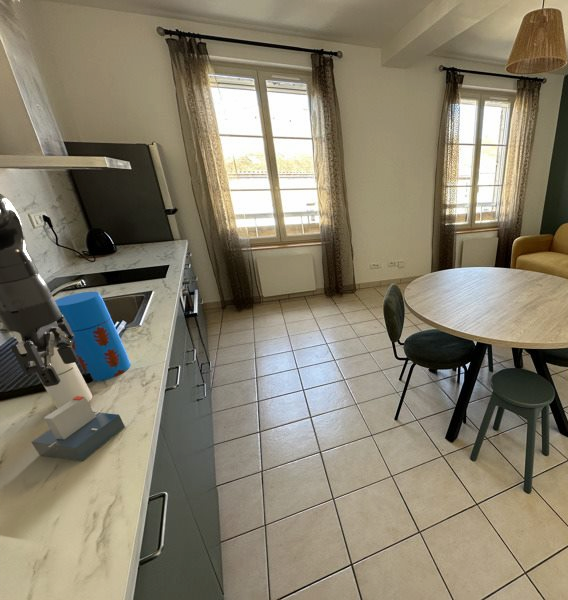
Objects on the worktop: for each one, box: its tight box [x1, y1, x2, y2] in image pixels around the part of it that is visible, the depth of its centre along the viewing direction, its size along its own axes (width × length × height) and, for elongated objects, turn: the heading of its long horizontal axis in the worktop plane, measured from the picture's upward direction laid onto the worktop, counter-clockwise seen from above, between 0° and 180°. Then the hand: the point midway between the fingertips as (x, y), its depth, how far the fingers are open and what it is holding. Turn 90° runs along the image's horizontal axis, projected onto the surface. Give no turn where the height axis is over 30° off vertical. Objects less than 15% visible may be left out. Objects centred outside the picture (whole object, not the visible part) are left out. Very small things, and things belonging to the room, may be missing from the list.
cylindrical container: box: [12, 332, 94, 410], centre depth 85 cm, size 7×7×25 cm
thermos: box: [54, 291, 131, 382], centre depth 98 cm, size 11×11×25 cm
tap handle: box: [43, 396, 96, 440], centre depth 74 cm, size 7×2×6 cm, turn 170°
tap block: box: [30, 409, 126, 462], centre depth 76 cm, size 12×11×4 cm
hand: (63, 373), depth 67 cm, fingers open, 8 cm apart
